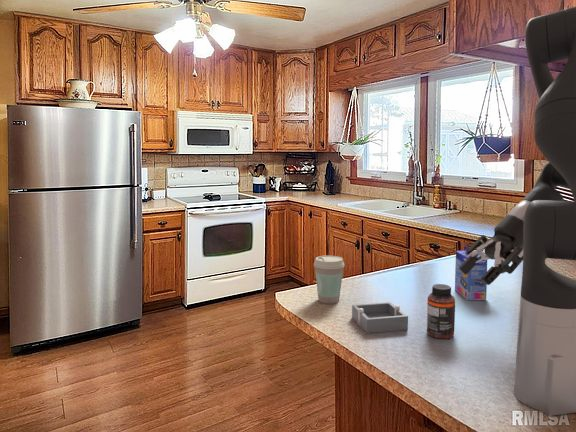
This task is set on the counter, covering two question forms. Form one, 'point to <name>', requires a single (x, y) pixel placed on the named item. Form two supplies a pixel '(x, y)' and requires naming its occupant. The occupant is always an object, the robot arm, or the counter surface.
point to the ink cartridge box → (470, 278)
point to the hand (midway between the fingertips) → (473, 276)
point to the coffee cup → (328, 278)
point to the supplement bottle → (441, 312)
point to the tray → (379, 317)
